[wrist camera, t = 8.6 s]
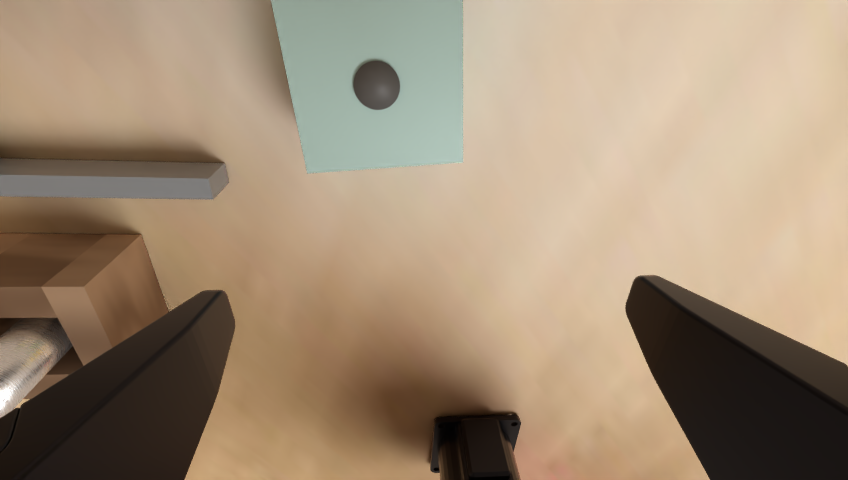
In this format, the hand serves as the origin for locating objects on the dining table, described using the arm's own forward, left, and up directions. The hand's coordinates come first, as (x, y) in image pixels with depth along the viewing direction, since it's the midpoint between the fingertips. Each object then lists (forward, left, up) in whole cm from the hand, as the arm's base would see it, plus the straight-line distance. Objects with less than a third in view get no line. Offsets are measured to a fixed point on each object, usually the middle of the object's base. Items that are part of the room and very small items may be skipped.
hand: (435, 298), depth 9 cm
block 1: (-9, +17, -12) cm, 23 cm away
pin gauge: (-9, +17, -12) cm, 23 cm away
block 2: (+3, +1, -12) cm, 13 cm away
